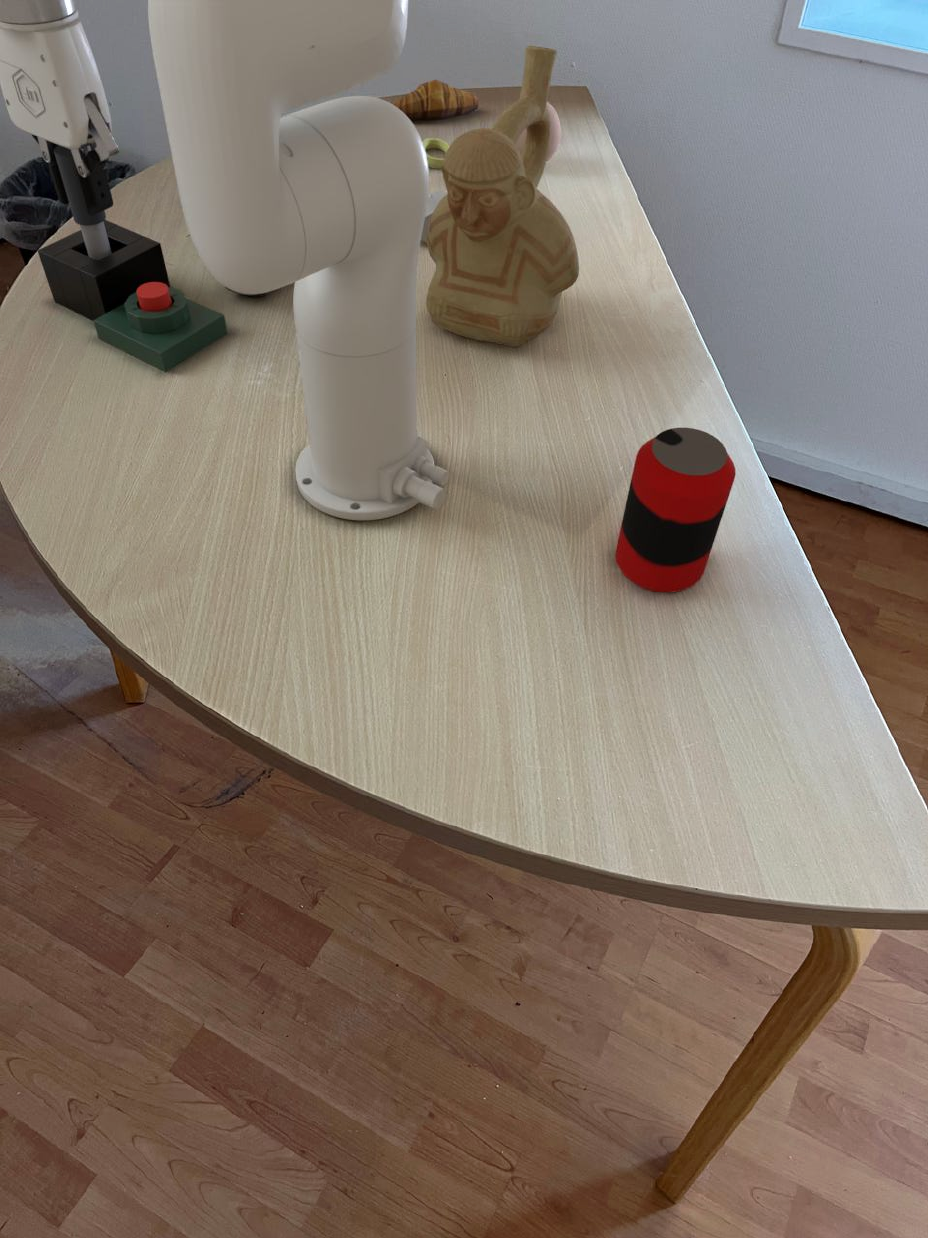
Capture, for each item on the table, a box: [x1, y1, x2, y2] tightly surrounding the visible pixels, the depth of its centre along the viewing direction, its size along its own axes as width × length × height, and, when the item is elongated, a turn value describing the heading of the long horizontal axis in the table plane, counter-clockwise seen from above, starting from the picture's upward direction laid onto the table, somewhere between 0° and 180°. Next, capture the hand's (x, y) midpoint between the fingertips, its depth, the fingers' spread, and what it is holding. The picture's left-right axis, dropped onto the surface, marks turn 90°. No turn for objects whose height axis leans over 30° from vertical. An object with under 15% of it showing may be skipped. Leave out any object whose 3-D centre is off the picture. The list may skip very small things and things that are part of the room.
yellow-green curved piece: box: [422, 137, 451, 170], centre depth 128 cm, size 7×12×2 cm, turn 113°
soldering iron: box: [54, 145, 112, 260], centre depth 95 cm, size 3×3×11 cm
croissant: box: [393, 79, 479, 121], centre depth 137 cm, size 14×7×5 cm, turn 111°
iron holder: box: [37, 219, 171, 322], centre depth 101 cm, size 9×9×6 cm
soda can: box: [614, 427, 736, 593], centre depth 74 cm, size 8×8×12 cm
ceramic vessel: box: [425, 45, 580, 348], centre depth 94 cm, size 17×20×25 cm
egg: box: [515, 101, 562, 163], centre depth 126 cm, size 7×7×8 cm
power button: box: [136, 282, 172, 312], centre depth 95 cm, size 3×3×2 cm
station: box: [93, 286, 228, 372], centre depth 97 cm, size 10×9×4 cm
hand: (86, 202), depth 95 cm, fingers closed on soldering iron, 3 cm apart
